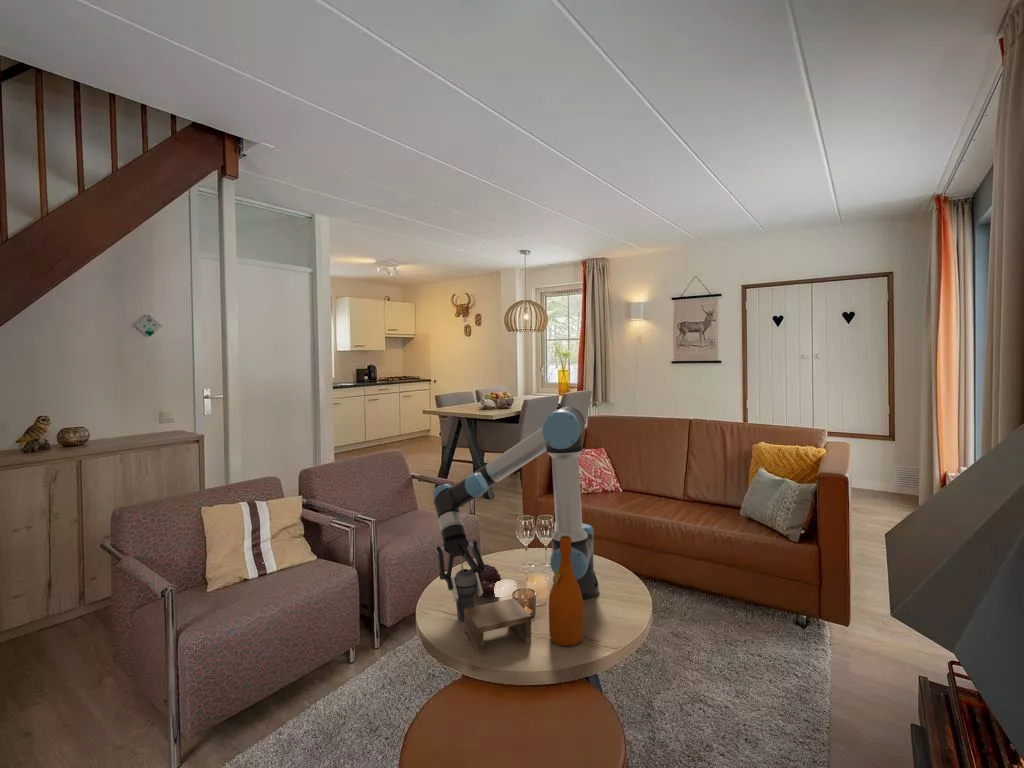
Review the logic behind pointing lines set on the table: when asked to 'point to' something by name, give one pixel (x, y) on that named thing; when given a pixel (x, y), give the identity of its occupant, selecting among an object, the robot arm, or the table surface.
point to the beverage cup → (464, 590)
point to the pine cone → (488, 580)
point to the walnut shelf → (495, 621)
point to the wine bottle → (565, 601)
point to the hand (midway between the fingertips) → (468, 597)
